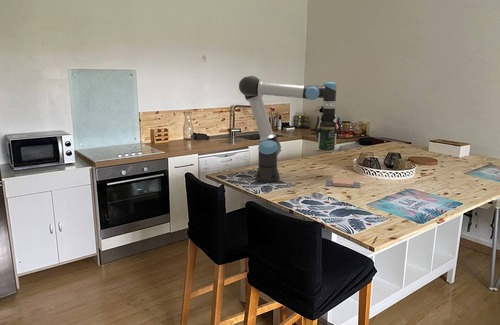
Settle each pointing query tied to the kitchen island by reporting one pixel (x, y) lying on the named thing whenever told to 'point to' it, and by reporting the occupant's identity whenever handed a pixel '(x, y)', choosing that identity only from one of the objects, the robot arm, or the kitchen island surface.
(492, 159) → the kitchen island surface
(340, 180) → the tile
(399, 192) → the kitchen island surface
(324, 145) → the coffee jar
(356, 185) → the mat
